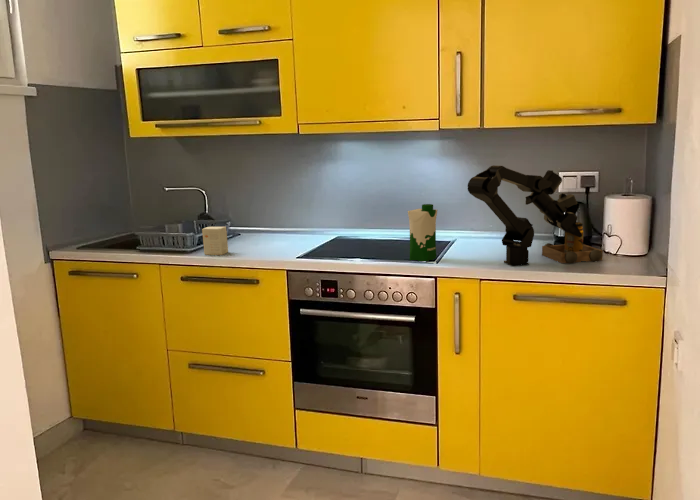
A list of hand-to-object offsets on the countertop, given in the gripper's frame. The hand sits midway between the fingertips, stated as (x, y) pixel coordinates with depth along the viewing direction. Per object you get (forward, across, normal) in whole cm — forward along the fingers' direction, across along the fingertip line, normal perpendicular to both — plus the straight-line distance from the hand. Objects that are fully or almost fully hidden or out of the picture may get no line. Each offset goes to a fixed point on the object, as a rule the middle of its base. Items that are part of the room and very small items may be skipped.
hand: (576, 234), depth 217 cm
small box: (-88, +30, +100) cm, 136 cm away
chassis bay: (+5, 0, +7) cm, 8 cm away
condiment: (+5, 0, +7) cm, 8 cm away
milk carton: (-31, +5, +44) cm, 54 cm away
